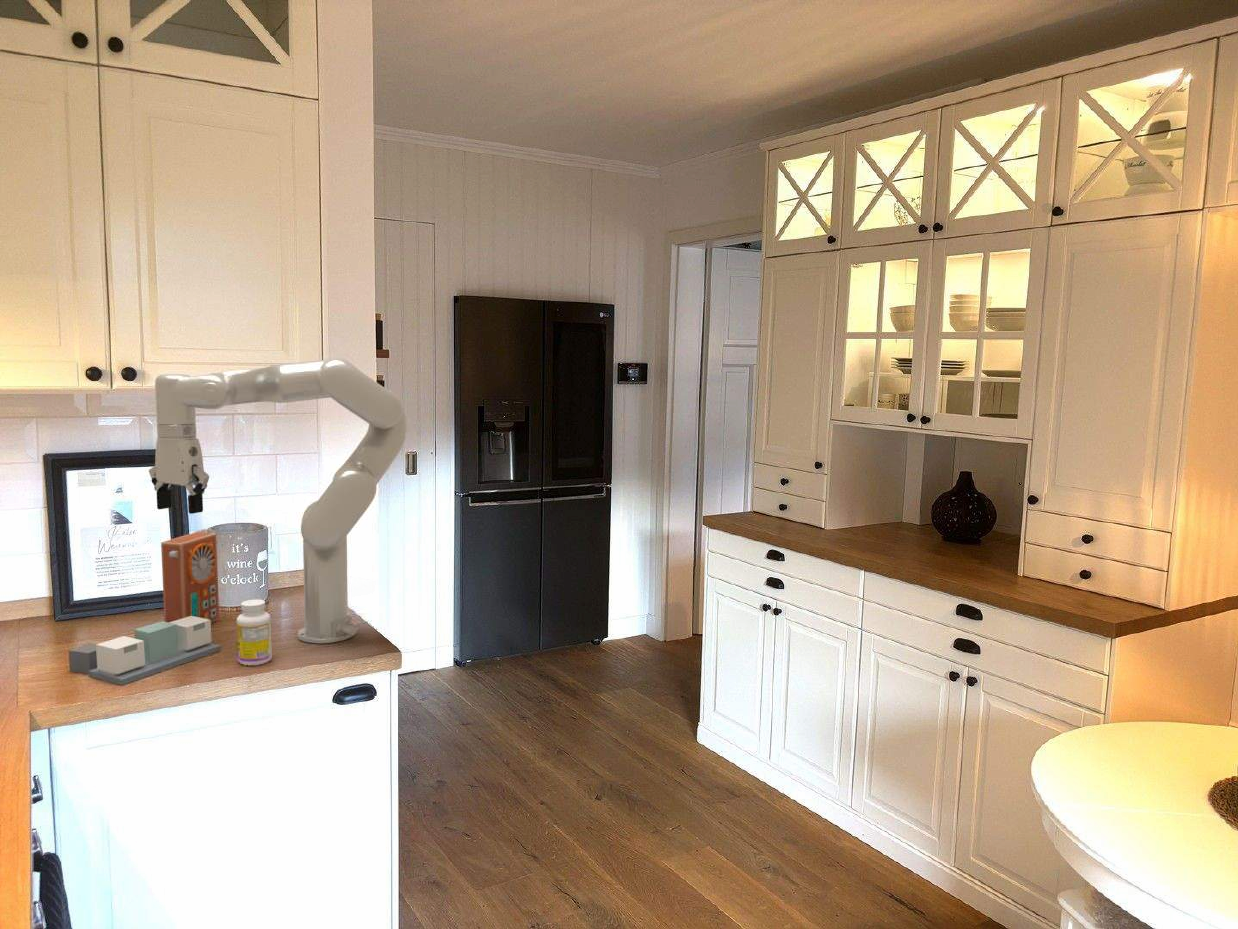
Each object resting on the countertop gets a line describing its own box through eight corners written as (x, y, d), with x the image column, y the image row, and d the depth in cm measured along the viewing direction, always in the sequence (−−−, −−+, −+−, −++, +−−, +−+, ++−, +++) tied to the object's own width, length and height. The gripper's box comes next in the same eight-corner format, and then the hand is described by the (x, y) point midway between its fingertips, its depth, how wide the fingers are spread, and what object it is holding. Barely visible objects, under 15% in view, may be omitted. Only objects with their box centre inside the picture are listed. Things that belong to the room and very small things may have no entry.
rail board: (220, 650, 194) (219, 645, 194) (122, 685, 174) (122, 679, 174) (187, 643, 199) (187, 638, 198) (88, 676, 178) (88, 670, 178)
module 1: (110, 666, 184) (108, 645, 184) (89, 674, 179) (88, 653, 179) (90, 663, 185) (89, 642, 185) (69, 672, 181) (68, 650, 180)
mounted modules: (211, 642, 195) (210, 619, 194) (117, 674, 175) (116, 649, 174) (191, 637, 197) (190, 615, 197) (97, 668, 177) (95, 644, 177)
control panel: (225, 618, 217) (184, 637, 203) (200, 616, 219) (157, 634, 204) (222, 532, 215) (180, 545, 200) (197, 530, 216) (153, 543, 201)
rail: (208, 644, 195) (208, 641, 195) (114, 676, 175) (114, 673, 175) (194, 641, 197) (194, 638, 197) (100, 672, 177) (99, 669, 177)
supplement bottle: (244, 655, 192) (242, 597, 190) (276, 655, 192) (274, 597, 191) (233, 666, 185) (231, 606, 184) (265, 666, 186) (264, 606, 184)
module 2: (178, 651, 188) (177, 624, 187) (150, 661, 182) (149, 632, 181) (163, 648, 190) (162, 621, 189) (135, 657, 184) (134, 629, 183)
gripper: (220, 433, 191) (222, 511, 193) (164, 428, 198) (167, 504, 201) (190, 435, 184) (193, 517, 187) (133, 430, 192) (137, 509, 194)
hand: (180, 510), depth 194 cm, fingers open, 9 cm apart
